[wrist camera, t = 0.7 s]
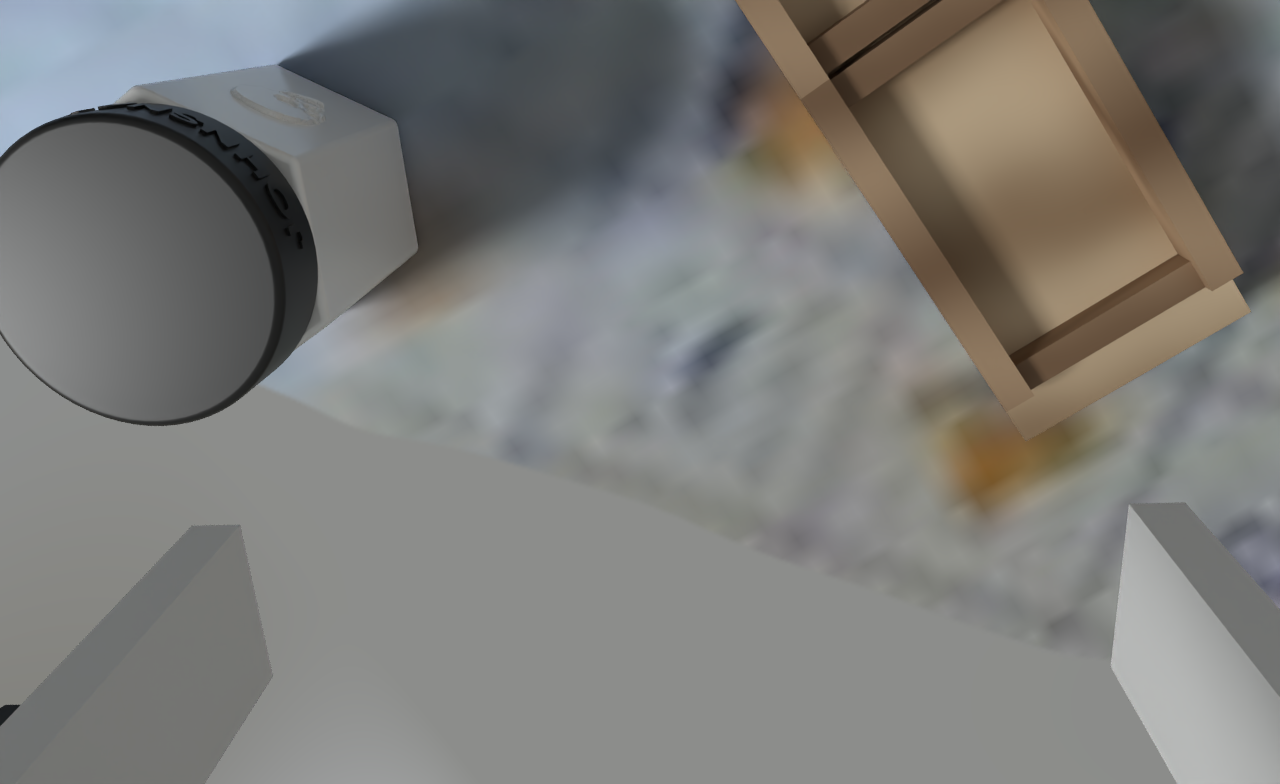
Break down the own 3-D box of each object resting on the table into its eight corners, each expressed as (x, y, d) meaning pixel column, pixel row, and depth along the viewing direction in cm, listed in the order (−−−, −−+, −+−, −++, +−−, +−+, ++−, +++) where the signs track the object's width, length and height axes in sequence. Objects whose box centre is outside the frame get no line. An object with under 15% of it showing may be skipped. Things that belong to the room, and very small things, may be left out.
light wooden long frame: (534, -305, 32) (436, -454, 22) (757, -505, 30) (772, -782, 19) (1007, 414, 39) (1114, 575, 28) (1218, 291, 37) (1419, 413, 26)
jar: (460, 142, 37) (343, 206, 26) (382, 345, 40) (246, 483, 29) (216, 28, 36) (-13, 43, 25) (154, 243, 39) (-76, 343, 28)
